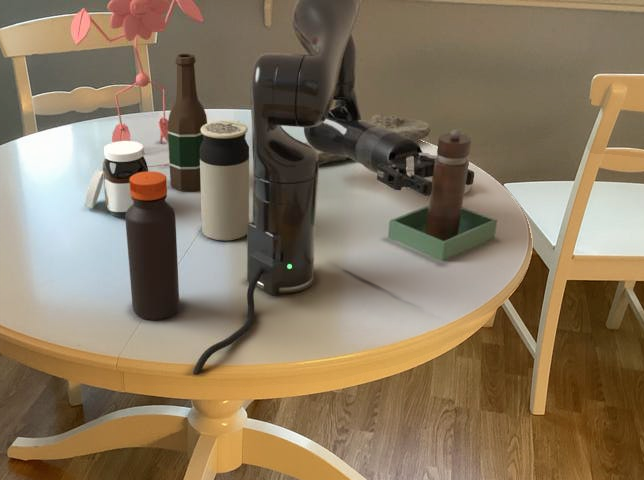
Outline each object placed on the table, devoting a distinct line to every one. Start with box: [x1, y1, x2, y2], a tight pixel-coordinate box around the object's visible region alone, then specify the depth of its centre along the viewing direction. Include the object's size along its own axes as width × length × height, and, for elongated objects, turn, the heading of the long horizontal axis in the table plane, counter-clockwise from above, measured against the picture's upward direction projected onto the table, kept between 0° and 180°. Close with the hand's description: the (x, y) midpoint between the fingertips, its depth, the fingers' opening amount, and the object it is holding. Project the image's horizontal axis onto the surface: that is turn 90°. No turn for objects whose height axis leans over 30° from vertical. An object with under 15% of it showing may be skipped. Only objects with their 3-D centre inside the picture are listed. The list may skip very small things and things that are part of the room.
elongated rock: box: [304, 113, 431, 165], centre depth 174 cm, size 35×5×10 cm
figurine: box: [70, 0, 204, 168], centre depth 165 cm, size 15×26×35 cm, turn 111°
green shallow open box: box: [387, 204, 498, 262], centre depth 138 cm, size 13×11×4 cm
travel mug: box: [200, 120, 250, 242], centre depth 139 cm, size 8×8×18 cm
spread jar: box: [84, 140, 149, 219], centre depth 149 cm, size 12×11×12 cm
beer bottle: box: [167, 53, 208, 192], centre depth 155 cm, size 8×8×24 cm
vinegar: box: [124, 170, 180, 321], centre depth 117 cm, size 7×7×20 cm
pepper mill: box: [425, 128, 472, 241], centre depth 134 cm, size 5×5×18 cm
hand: (451, 184), depth 133 cm, fingers open, 8 cm apart
